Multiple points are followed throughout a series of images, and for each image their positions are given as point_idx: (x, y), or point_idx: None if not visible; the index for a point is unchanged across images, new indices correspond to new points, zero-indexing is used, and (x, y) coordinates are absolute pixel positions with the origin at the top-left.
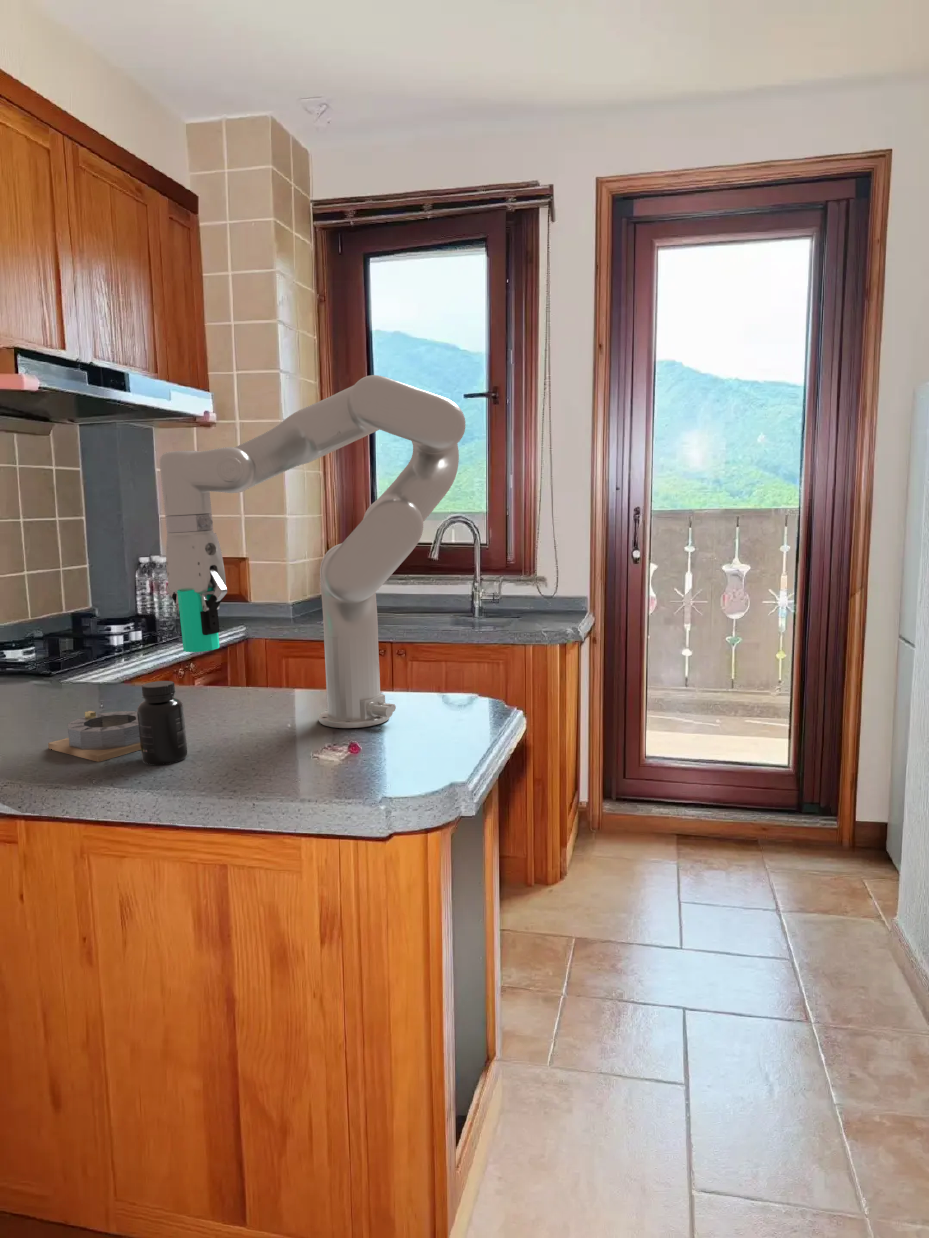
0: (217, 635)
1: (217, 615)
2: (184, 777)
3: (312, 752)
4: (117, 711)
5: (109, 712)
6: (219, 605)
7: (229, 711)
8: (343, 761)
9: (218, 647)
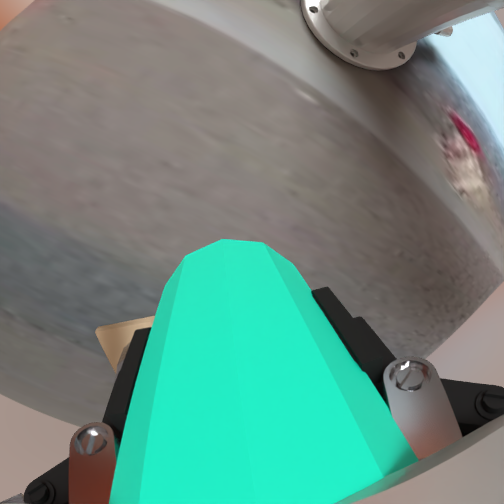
0: (299, 280)
1: (362, 334)
2: (399, 343)
3: (448, 180)
4: (117, 367)
5: (116, 377)
6: (434, 369)
7: (104, 125)
8: (486, 182)
9: (290, 262)
